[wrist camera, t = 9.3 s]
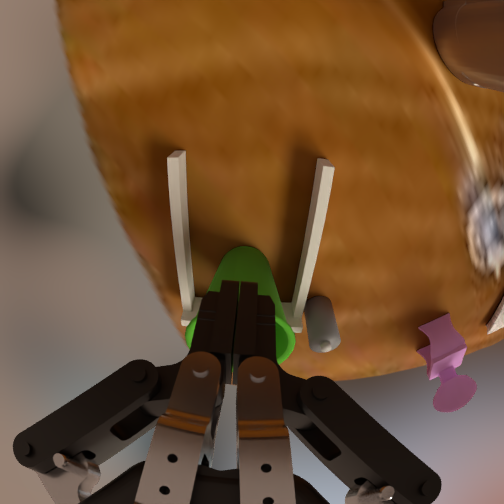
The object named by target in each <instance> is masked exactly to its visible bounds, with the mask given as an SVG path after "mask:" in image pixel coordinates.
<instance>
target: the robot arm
mask: <svg viewBox="0 0 504 504" xmlns="http://www.w3.org/2000/svg"><path fill="white" fill-rule="evenodd" d="M433 34H434V40H435V43H436V46H437V49H438V52H439V54H440V56H441V58H442V60H443V61H444V63H445V65H446V66H447V67H448V69H449V70H450V71H451V72H452V73H453V74H454V75H455V76H456V77H457V78H458V79H459V80H461V81H462V82H464V83H467V84H469V85H474V86H478V87H482V88H488V89H493V90H497V91H501V92H504V0H445V1H444V7H443V9H441V10H440V11H439V12H438V13H437V15H436V16H435V19H434V23H433ZM275 324H276V320H275V304H274V302H273V300H272V299H271V297H270V296H269V295H258V282H248V281H241V284H240V293H239V281H234V280H222V282H221V287H220V292H216V291H208V292H207V293H206V295H205V296H204V297H203V298H202V299H201V304H200V308H199V312H198V316H197V321H196V325H195V329H194V334H193V338H192V343H191V347H190V351H189V353H188V355H187V356H186V357H185V358H184V359H183V360H182V361H180V362H178V363H176V364H173V365H167V366H160V367H155V366H154V365H153V364H152V363H151V362H149V361H147V360H133V361H131V362H129V363H127V364H126V365H124V366H123V367H122V368H120V369H118V370H117V371H116V372H114V373H112V374H111V375H109V376H108V377H106V378H105V379H103V380H102V381H101V382H99V383H98V384H96V385H94V386H93V387H91V388H90V389H88V390H87V391H85V392H84V393H82V394H81V395H79V396H78V397H76V398H75V399H73V400H71V401H70V402H69V403H67V404H65V405H64V406H62V407H61V408H59V409H58V410H56V411H54V412H53V413H51V414H50V415H48V416H46V417H45V418H43V419H42V420H40V421H39V422H37V423H36V424H34V425H32V426H31V427H29V428H27V429H26V430H24V431H23V432H21V433H19V434H18V435H17V436H16V438H15V439H14V442H13V451H14V455H15V457H16V459H17V460H18V461H19V463H20V464H22V465H23V466H25V467H27V468H30V469H32V470H34V471H35V472H36V473H37V474H38V476H39V478H40V479H41V481H42V483H43V485H44V486H45V488H46V490H47V491H48V493H49V495H50V496H51V498H52V499H53V501H54V502H55V504H330V503H329V502H328V501H327V500H326V499H325V498H324V497H322V495H320V493H319V492H318V491H317V490H316V489H315V488H314V487H313V486H312V485H311V484H310V483H308V482H307V481H306V480H304V479H303V478H301V477H299V476H297V475H295V474H293V468H292V458H291V448H290V438H289V433H288V428H287V427H286V426H288V427H289V429H290V430H291V431H292V432H293V433H294V434H295V435H296V436H297V437H298V438H299V440H300V441H301V442H302V443H304V445H305V446H306V447H307V448H308V449H309V450H310V451H311V452H312V453H313V454H314V455H315V456H316V457H317V458H318V459H319V460H320V461H321V462H322V463H323V464H324V465H325V466H326V467H327V468H328V469H329V470H330V471H331V472H332V473H334V474H335V475H336V476H337V477H338V478H339V479H340V480H341V481H342V482H343V483H344V484H345V485H346V486H348V487H349V488H350V490H349V491H348V493H347V494H346V497H345V504H431V503H432V502H433V501H435V499H436V498H437V497H438V495H439V493H440V491H441V479H440V477H439V476H438V474H436V473H435V472H434V471H433V470H432V469H431V468H429V467H428V466H427V465H426V464H425V463H423V462H422V461H421V460H420V459H419V458H418V457H416V456H415V455H414V454H413V453H412V452H411V451H409V450H408V449H407V448H406V447H405V446H404V445H402V444H401V443H400V442H399V441H398V440H397V439H396V438H395V437H394V436H392V435H391V434H390V433H389V432H388V431H387V430H386V429H384V428H383V427H382V426H381V425H380V424H379V423H378V422H377V421H375V419H373V418H372V417H371V416H370V415H369V414H368V413H367V412H366V411H365V410H364V409H363V408H361V407H360V406H359V405H358V404H357V403H356V402H355V401H354V400H353V399H352V398H350V396H349V395H348V394H347V393H345V392H344V391H343V390H342V389H341V388H340V387H339V386H338V385H337V384H336V383H335V382H334V381H333V380H331V379H329V378H327V377H324V376H314V377H311V378H309V379H307V380H305V379H302V378H299V377H296V376H293V375H290V374H288V373H286V372H285V371H284V370H283V369H282V368H281V367H280V366H279V364H278V362H277V358H276V326H275ZM232 368H233V384H235V385H237V396H236V431H237V432H236V435H237V469H231V470H225V471H219V470H215V469H212V468H211V465H212V460H213V454H214V444H215V438H216V433H217V428H218V422H219V417H220V412H221V407H222V403H223V398H224V393H225V384H231V379H232ZM155 426H156V427H155ZM153 427H155V431H154V434H153V438H152V441H151V444H150V447H149V451H148V454H147V458H146V461H143V462H140V463H137V464H136V465H133V466H132V467H131V468H129V469H128V470H127V471H125V472H123V473H122V474H121V475H120V476H118V477H117V478H115V479H114V480H112V481H111V482H110V483H108V484H107V485H105V486H104V487H102V488H101V489H100V490H98V491H97V492H95V493H94V494H92V495H91V491H92V488H93V487H94V486H95V485H96V484H97V483H98V482H99V480H100V476H101V473H100V469H99V465H100V464H102V463H103V462H105V461H106V460H108V459H109V458H111V457H112V456H114V455H115V454H117V453H118V452H120V451H121V450H122V449H124V448H125V447H127V446H128V445H130V444H131V443H132V442H134V441H135V440H137V439H138V438H140V437H141V436H142V435H144V434H145V433H146V432H148V431H149V430H150V429H152V428H153Z"/></svg>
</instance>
